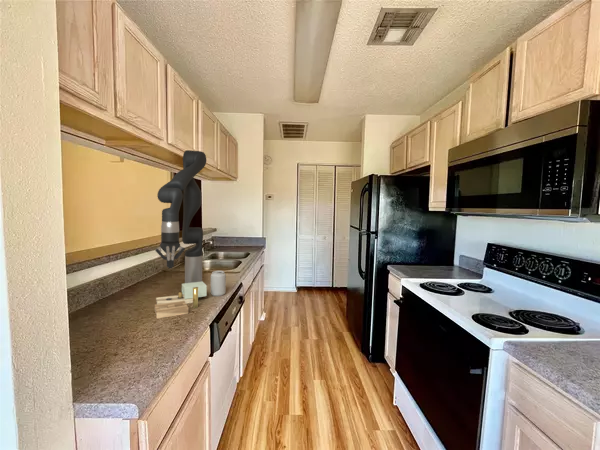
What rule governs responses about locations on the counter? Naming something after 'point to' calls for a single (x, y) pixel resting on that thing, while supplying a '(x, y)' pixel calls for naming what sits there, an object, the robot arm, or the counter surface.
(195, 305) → the peg
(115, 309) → the counter surface
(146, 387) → the counter surface
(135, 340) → the counter surface
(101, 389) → the counter surface
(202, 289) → the cover
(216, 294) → the can
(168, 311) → the socket board
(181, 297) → the board
